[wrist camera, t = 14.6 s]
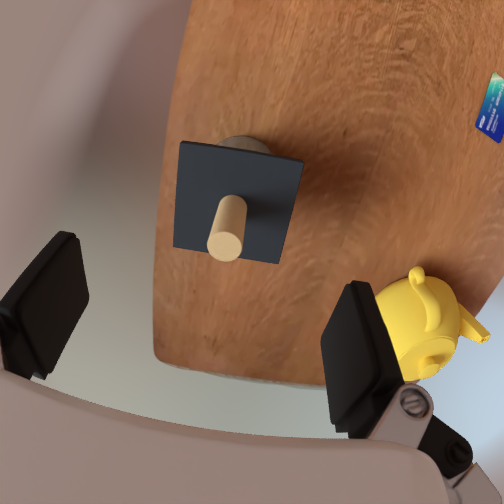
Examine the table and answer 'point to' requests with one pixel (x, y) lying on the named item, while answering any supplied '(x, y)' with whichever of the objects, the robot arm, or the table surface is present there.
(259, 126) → the table surface
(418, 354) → the teapot
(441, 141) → the table surface
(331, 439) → the robot arm
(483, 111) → the credit card
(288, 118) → the table surface
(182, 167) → the plate with wooden peg
